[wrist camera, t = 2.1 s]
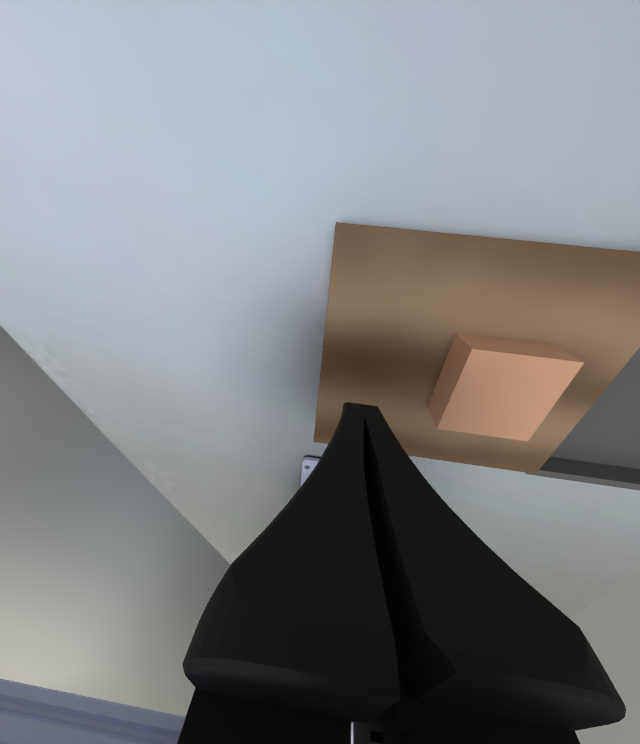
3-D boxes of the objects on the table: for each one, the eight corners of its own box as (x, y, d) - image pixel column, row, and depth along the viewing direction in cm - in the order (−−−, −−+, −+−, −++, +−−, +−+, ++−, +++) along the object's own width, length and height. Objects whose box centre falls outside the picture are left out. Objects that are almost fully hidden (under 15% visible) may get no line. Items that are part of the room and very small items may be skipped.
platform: (512, 442, 20) (535, 473, 17) (318, 415, 21) (313, 441, 18) (639, 253, 13) (711, 259, 10) (338, 223, 14) (335, 222, 11)
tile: (507, 417, 15) (527, 441, 14) (427, 406, 16) (436, 428, 14) (553, 344, 13) (584, 362, 11) (456, 333, 13) (472, 348, 11)
